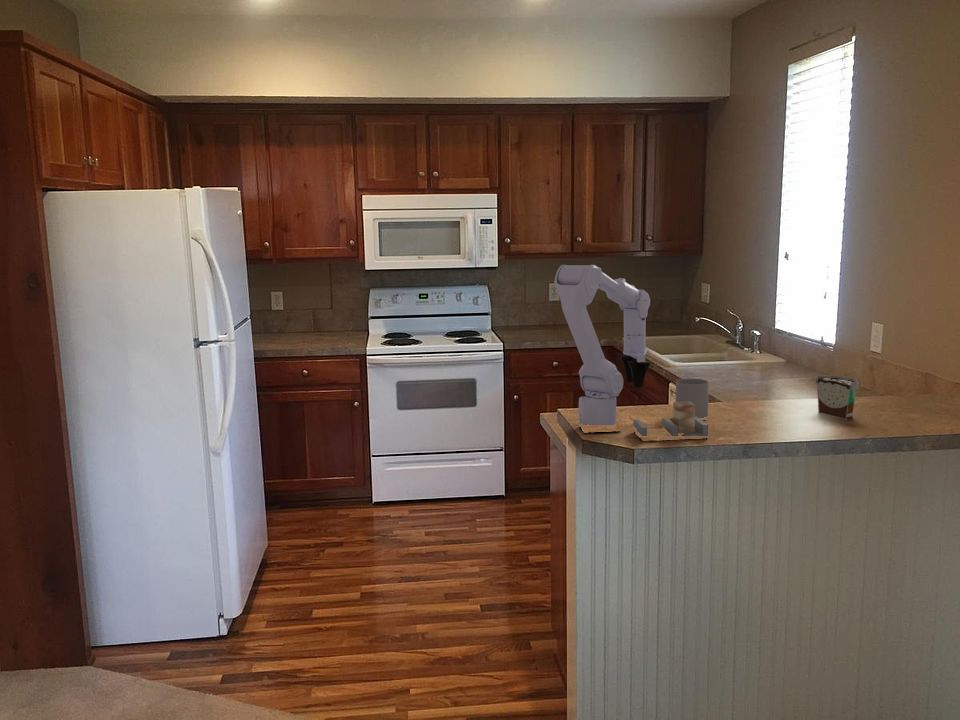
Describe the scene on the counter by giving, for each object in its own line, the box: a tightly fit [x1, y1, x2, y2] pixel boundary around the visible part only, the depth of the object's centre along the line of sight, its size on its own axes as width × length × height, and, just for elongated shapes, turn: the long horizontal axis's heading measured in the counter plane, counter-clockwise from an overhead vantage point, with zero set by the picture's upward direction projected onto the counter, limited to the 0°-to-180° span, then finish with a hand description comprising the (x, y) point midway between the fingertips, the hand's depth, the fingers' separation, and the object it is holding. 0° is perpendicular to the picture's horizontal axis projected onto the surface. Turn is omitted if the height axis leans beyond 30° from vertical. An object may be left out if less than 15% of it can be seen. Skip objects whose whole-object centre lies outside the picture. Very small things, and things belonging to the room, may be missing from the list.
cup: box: [675, 378, 710, 418], centre depth 208 cm, size 8×8×10 cm
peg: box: [673, 401, 695, 433], centre depth 191 cm, size 4×4×7 cm
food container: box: [814, 374, 860, 421], centre depth 205 cm, size 12×6×10 cm, turn 22°
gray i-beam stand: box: [632, 416, 709, 437], centre depth 191 cm, size 16×9×4 cm, turn 93°
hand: (634, 384), depth 208 cm, fingers open, 7 cm apart
